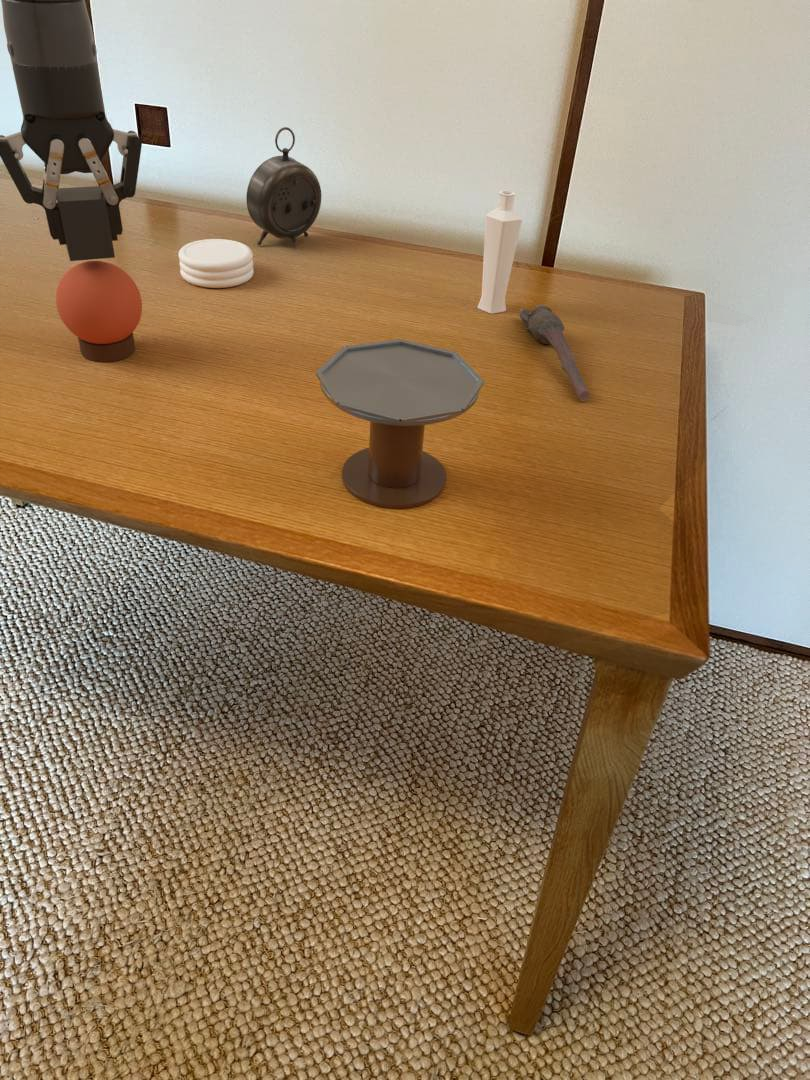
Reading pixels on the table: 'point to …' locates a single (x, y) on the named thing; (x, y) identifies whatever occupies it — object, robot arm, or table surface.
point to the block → (85, 223)
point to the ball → (100, 309)
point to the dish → (397, 414)
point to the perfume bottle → (499, 252)
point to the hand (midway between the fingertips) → (87, 239)
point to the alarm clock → (283, 196)
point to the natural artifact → (555, 343)
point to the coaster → (216, 263)
